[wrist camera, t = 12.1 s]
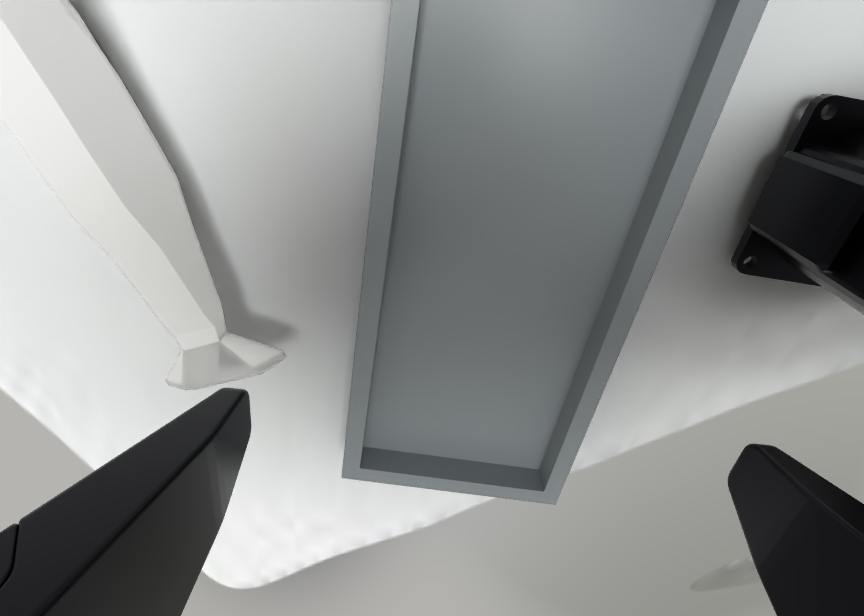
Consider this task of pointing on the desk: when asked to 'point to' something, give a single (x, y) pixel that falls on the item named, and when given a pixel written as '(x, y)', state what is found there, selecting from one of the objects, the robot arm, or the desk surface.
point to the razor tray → (521, 224)
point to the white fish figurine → (116, 183)
